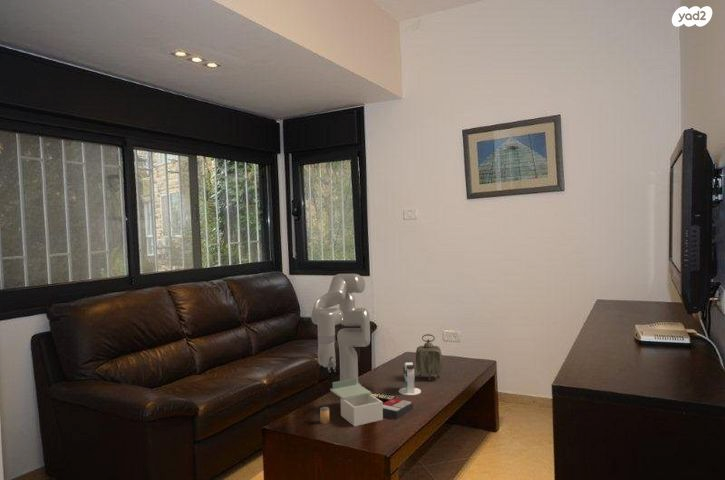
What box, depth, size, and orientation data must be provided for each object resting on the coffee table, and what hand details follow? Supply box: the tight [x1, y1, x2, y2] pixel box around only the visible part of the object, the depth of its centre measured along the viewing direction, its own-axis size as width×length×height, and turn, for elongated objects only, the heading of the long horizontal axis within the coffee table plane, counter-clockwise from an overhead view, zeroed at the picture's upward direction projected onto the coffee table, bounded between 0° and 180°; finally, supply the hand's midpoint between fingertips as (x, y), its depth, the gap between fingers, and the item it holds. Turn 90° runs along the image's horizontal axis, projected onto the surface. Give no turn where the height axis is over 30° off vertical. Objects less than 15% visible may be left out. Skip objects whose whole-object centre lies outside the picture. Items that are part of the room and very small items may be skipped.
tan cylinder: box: [319, 406, 331, 425], centre depth 211 cm, size 4×4×6 cm
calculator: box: [382, 397, 414, 420], centre depth 221 cm, size 11×4×15 cm
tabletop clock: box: [415, 333, 443, 381], centre depth 266 cm, size 14×9×25 cm, turn 84°
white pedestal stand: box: [398, 359, 422, 396], centre depth 247 cm, size 12×11×15 cm
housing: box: [339, 393, 384, 427], centre depth 214 cm, size 14×14×8 cm
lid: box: [329, 378, 372, 399], centre depth 224 cm, size 14×14×4 cm
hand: (327, 378), depth 210 cm, fingers open, 9 cm apart
